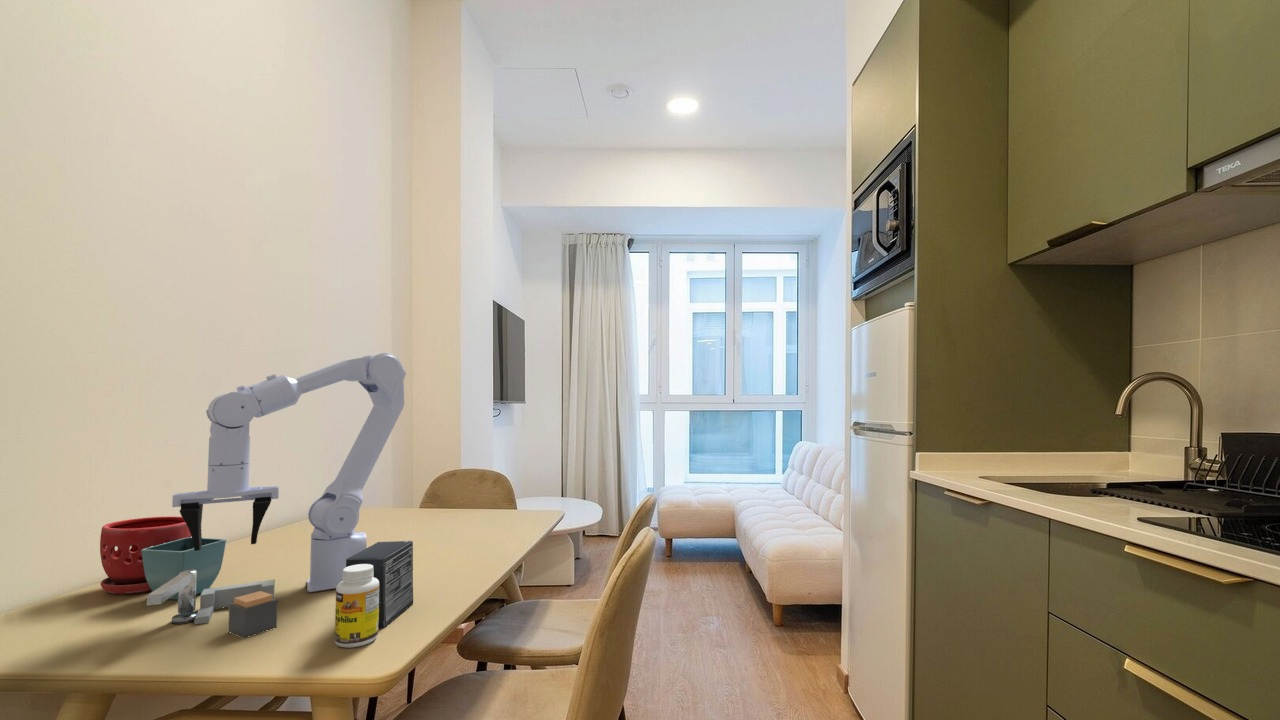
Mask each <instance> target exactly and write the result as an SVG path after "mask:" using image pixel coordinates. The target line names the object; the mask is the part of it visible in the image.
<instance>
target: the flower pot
mask: <svg viewBox="0 0 1280 720" xmlns="http://www.w3.org/2000/svg"><path fill="white" fill-rule="evenodd" d="M226 543H227V539H225V538H210V537H209V538H207V537H202V546H201V549H200V550H197V551H194V544H193V540H192V536H191V537H188V538H183V539H179V540H176V541H172V542H168V543H164V544H160V545H157V546H151V547H149V548H145V549H142V550H141V551H142V559H143V566H144V573H145V577H146V580H147V583H148V585H149V587H150V588H151V592H153V591H155V590H156V589H158V588H159V587H161V586H162V585H164V584H165V583H167V582H168V581H170V580H172V579H173V578H175V577H176V576H178V575H179V572H182V571H185V570H197V577H196V595H199V594H202V592H203V590H204V589H209V588H211V586H212V585H214V583H215V581H216V579H217V578H218V576H219V574H220V572H221V569H222V565H223V561H224V555H225V549H226ZM168 600H176V601H178V592H177V593H176V594H174V595H173V596H172V597H170V598H169V599H168Z"/></svg>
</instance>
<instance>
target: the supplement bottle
mask: <svg viewBox="0 0 1280 720" xmlns="http://www.w3.org/2000/svg"><path fill="white" fill-rule="evenodd" d="M373 574H374V572H373V565H371V564H357V565H352V566H348V567H346V568H344V569H343V576H342V578H343V579H342V580H343V581H342V582H340V583H339V584H338V585H337V587H336V588H335V610H334V611H335V614H334V615H335V616H334V617H335V619H334V621H335V623H334V642H335V644H336V645H337V646H338V647H340V648H346V649H349V648H350V649H351V648H352V649H353V648H357V647H362V646H366V645H368V644H371V643H372V642H373V641H375V640H377V637H378V635H379V628H378V621H379V580H378V579H376V578H374V577H373V576H374V575H373Z"/></svg>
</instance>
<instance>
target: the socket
mask: <svg viewBox="0 0 1280 720" xmlns="http://www.w3.org/2000/svg"><path fill="white" fill-rule="evenodd" d="M275 581H276V579H266V580H260V581H253V582H247V583H246V582H245V583H240V584H239V583H238V584H231V585H225V586H217V587H210V588H209V589H204V590H203V592H202V593H200V597H199V599H200V601H199V603H200V604H199V605H200V606H199V610H197V611H198V613H197V615H196V617H195V621H194V626H196V625H202V624H208V622H209V623H210V621H211V618H212V616H213V614H214V612H213V611H215V610H218V609H217V608H221V609H224V608H223V607H227V608H229V604H231V603H234V598H236V597H240V596H243V595H247V594H251V593H255V592H258V591H262V592H265V593H269V594H272V595H273V599H275V588H276V587H275V585H276V584H275V583H276V582H275ZM214 609H215V610H214Z"/></svg>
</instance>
